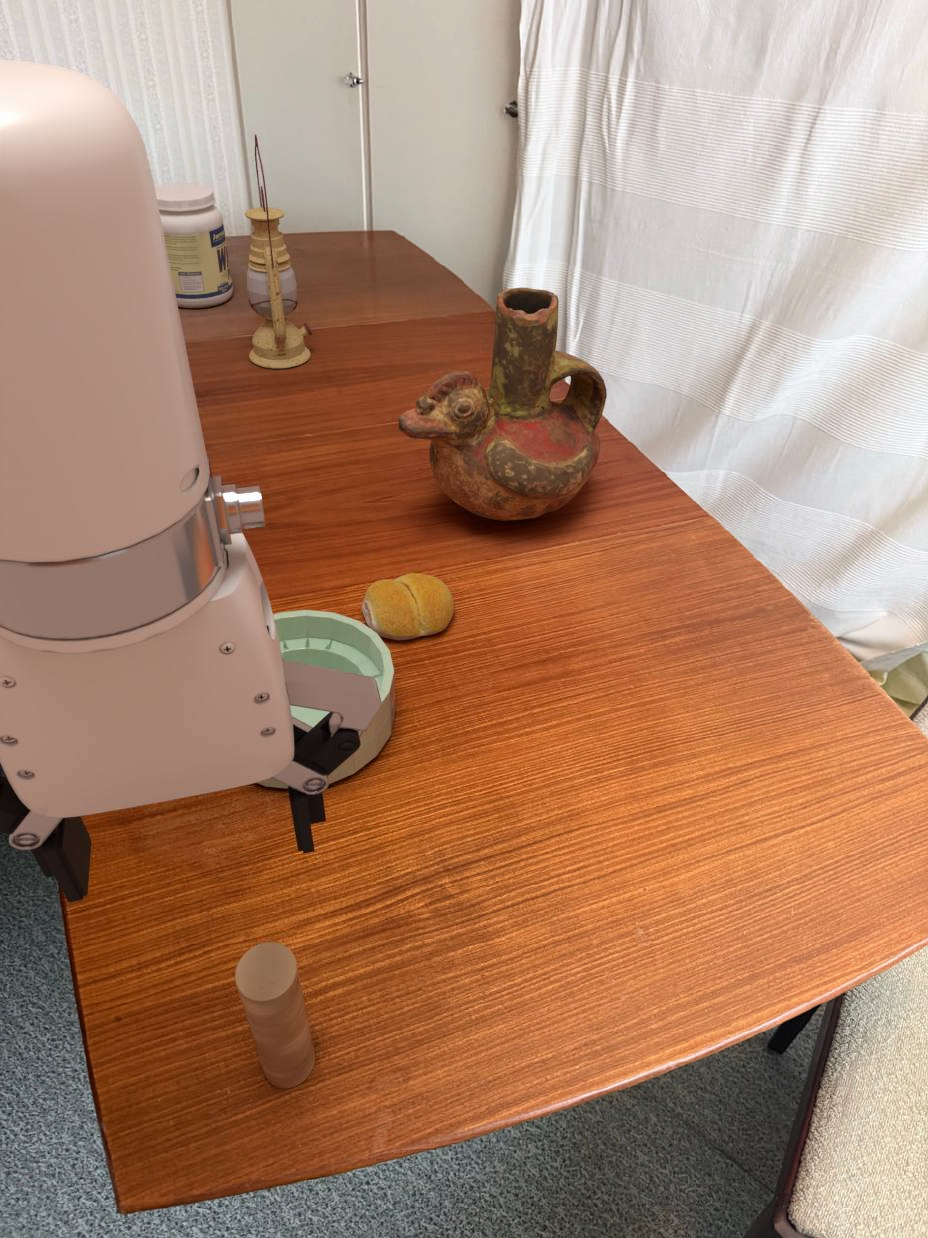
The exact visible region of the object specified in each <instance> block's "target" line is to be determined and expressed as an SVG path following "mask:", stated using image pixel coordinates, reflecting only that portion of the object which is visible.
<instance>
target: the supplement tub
mask: <svg viewBox="0 0 928 1238" xmlns="http://www.w3.org/2000/svg"><path fill="white" fill-rule="evenodd" d="M154 187H155V192H156V197H157V202H158V207H159V212H160V217H161V222H162V228H163V233H164V238H165V243H166V248H167V253H168V258H169V264H170V269H171V274H172V279H173V284H174V289H175V294H176V300H177V305H178V308H185V309H205V308H211V307H215V306H218V305H221V304H223V303H225V302H227V301H228V300H229V299H230V298H231V297H232V295H233V290H234V289H233V288H234V286H233V279H232V274H231V266H230V259H229V252H228V245H227V237H226V231H225V224H224V218H223V213H222V212H221V210H220V209H219V208H218V207H217V206H216V205H215V204H216V198H215V196H214V195H215V194H214V190H213V189H212V188H211V187H210V186H207V185H204V184H199V183H192V182H191V183H189V182H175V183H173V182H172V183H164V184H160V185H156V186H155V185H154Z"/></svg>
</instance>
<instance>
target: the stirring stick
mask: <svg viewBox="0 0 928 1238" xmlns="http://www.w3.org/2000/svg"><path fill="white" fill-rule="evenodd" d="M234 982H235V985H236V988H237V992H238V995H239V998H240V1002H241V1005H242V1008H243V1011H244V1015H245V1017H246V1021H247V1023H248V1027H249V1030H250V1033H251V1037H252V1039H253V1042H254V1043H253V1044H254V1046H255V1049H256V1052H257V1056H258V1059H259V1061H260V1065H261V1068H262V1072H263V1075H264V1076H265V1078H266V1080H267V1081H268V1082H269V1083H270V1084H271V1085H273V1086H274V1087H276V1088H279V1089H292V1088H295V1087H297V1086H299V1085H301V1084H302V1083H304V1082H305V1081H306V1079H308V1077H309V1076H310V1075H311V1073H312V1071H313V1069H314V1067H315V1063H316V1052H315V1047H314V1042H313V1038H312V1032H311V1027H310V1021H309V1017H308V1011H307V1007H306V1003H305V1002H306V1001H305V997H304V992H303V987H302V982H301V978H300V973H299V967H298V962H297V958H296V956H295V954H294V952H293V951H292V950H291V949H290V948H289V947H288V946H286V945H285V944H283V943H279V942H277V941H266V942H261V943H258V944H256V945H254V946H252V947H250V948H249V949H248V950H247V951H246V952H245V953H244V954H243V955H242V956H241V957H240V959H239V960H238V962H237V965H236V967H235V971H234Z"/></svg>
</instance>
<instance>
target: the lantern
mask: <svg viewBox="0 0 928 1238" xmlns="http://www.w3.org/2000/svg"><path fill="white" fill-rule="evenodd" d="M257 155H258V158H257ZM258 160H259V164H260V170H261V175H262V183H263V186H262V185H261V186H260V177H259V170H258V169H259V168H258ZM254 161H255V171H256V179H257V187H258V188H257V189H258V195H259V196H258V197H259V204H260V207H254V208H251V209H248V210H246V211H245V212H244V215H245V217H246V218H247V219H248V220H250V223H251V226H252V227H253V232H251V233H250V235H249V236H250V237H249V238H250V245H249V246H250V247H249V249H250V250H249V251H250V253H249V255H248V260H249V261H248V264H247V266H248V269H247V272H246V290H247V295H248V303H249V307H250V308H251V309H252V310H253V311H254V312H255V315H257V316H258V317H260V318H263V319H264V321H262V323H260V325H259V326H258V327H257V328H256V330H255V332H254V334H253V335H252V338H251V343H252V349H251V350H250V351H249V353H248V354H249V355H248V357H249V358H248V359H249V360H250V362H252V363H253V364H254V365H257V366H259V367H261V368H267V369H288V368H294V367H296V366H297V367H298V366H300V365H303V364H304V363H306V362H307V361H308V360H310V358H311V355H312V354H311V351H310V349H309V348H308V347H307V346H306V345H305V337H306V336H308V335H309V336H312V335H313V331H312V330H311V327H310V326H309V324H308V323H307V322H304V323H303V326H301V327H300V328H298V327H297V326H296V325H295V324H294V323H292V321H290V320H288V317H290V316H292V315H293V314H294V312H295V310H296V309H297V307H298V303H299V301H298V284H297V281H296V279H297V278H296V275H295V270H294V269H293V268H292V266H291V264H292V263H291V262H290V258H291V255H290V254H289V252H288V251H287V245H286V243H285V238H284V237H285V236H284V233H283V232H282V231H279V226H280V220H281V219H282V218H284V216H285V212H284V210H282V209H279V208H275V207H269V205H268V197H267V189H266V180H265V174H264V168H263V167H264V166H263V164H262V163H263V162H262V158H261V154H260V148H259V142H258V135H257V133H256V134H254Z"/></svg>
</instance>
